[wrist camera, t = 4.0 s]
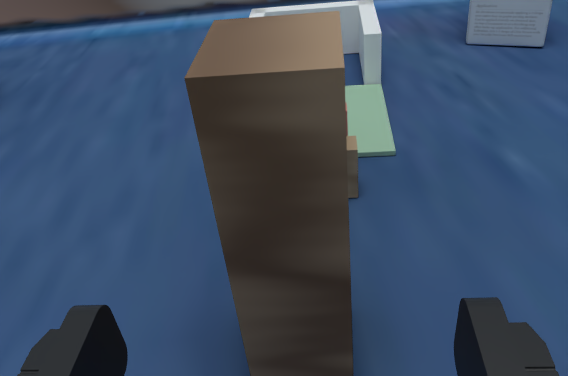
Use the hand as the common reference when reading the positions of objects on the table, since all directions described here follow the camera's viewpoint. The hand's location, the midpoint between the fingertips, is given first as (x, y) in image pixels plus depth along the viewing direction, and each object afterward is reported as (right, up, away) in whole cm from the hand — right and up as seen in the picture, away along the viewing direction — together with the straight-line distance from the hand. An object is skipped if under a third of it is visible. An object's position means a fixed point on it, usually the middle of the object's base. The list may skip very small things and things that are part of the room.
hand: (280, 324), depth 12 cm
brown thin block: (+1, 0, +13) cm, 13 cm away
